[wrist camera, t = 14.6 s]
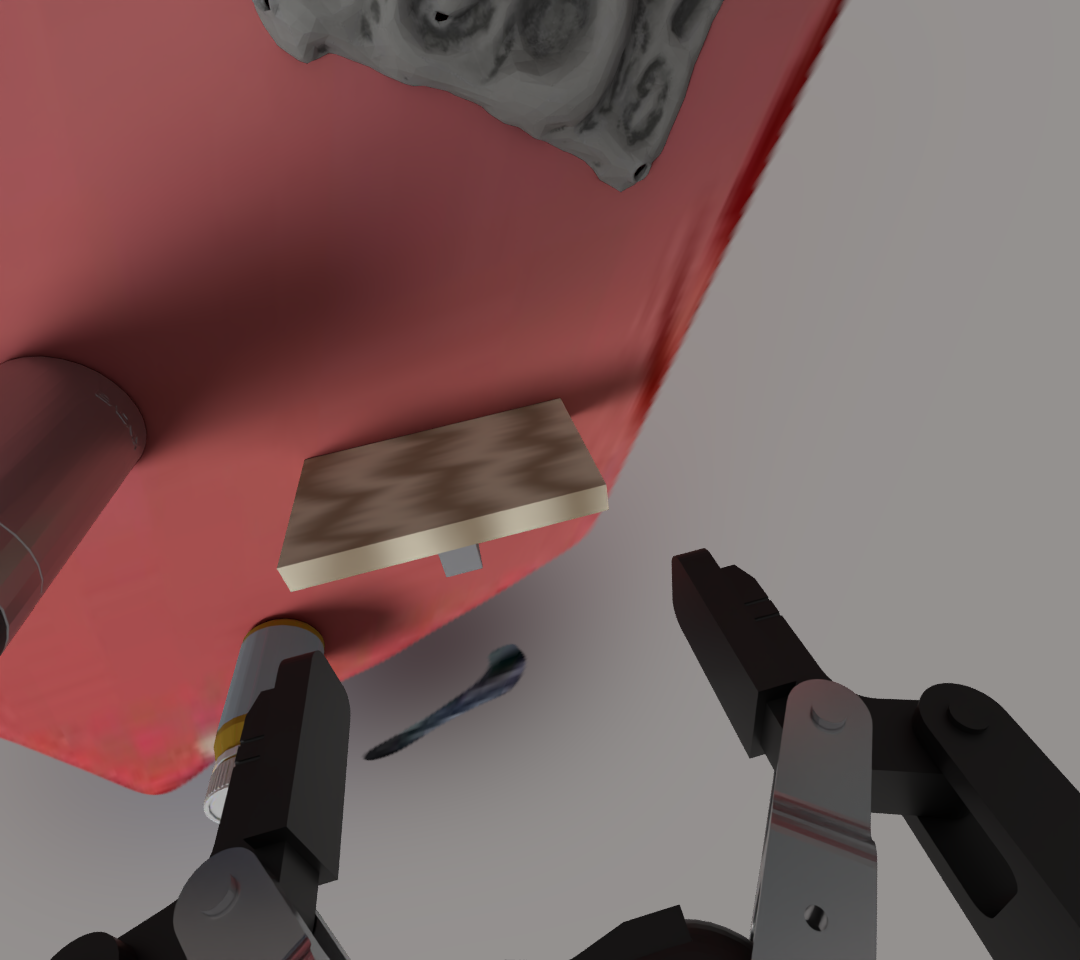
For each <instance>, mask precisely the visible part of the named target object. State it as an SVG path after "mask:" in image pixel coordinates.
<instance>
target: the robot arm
mask: <svg viewBox="0 0 1080 960" xmlns="http://www.w3.org/2000/svg"><path fill="white" fill-rule="evenodd" d="M145 445H146V428H145V424H144V420H143V418H142V416H141V414H140V412H139V410H138V408H137V406H136V405H135V404H134V402H133V401H132V400H131V399H130V398H129V396H128V395H127V394H126V393H125V392H124V391H123V390H122V389H120V388H119V387H118V386H117V385H116V384H115V383H114V382H112V381H111V380H109V379H107V378H106V377H104V376H103V375H101V374H100V373H98V372H96V371H94V370H92V369H89V368H87V367H85V366H83V365H80V364H77V363H74V362H70V361H67V360H63V359H58V358H50V357H43V356H41V357H22V358H18V359H14V360H9V361H7V362H5V363H3V364H1V365H0V655H1V654H2V653H3V651H4V650H5V649H6V647H7V646H8V644H9V643H10V641H11V640H12V639H13V637H14V636H15V634H16V633H17V632H18V630H19V629H20V627H21V626H22V624H23V623H24V622H25V620H26V619H27V617H28V616H29V615H30V613H31V612H32V610H33V609H34V607H35V605H36V604H37V603H38V601H39V600H40V598H41V597H42V596H43V594H44V593H45V591H46V590H47V589H48V587H49V586H50V584H51V583H52V581H53V580H54V579H55V577H56V576H57V574H58V573H59V572H60V570H61V569H62V567H63V566H64V564H65V563H66V562H67V560H68V559H69V557H70V556H71V555H72V553H73V552H74V550H75V549H76V547H77V546H78V545H79V543H80V542H81V540H82V539H83V538H84V536H85V535H86V533H87V532H88V531H89V529H90V528H91V526H92V525H93V523H94V522H95V521H96V519H97V518H98V516H99V515H100V514H101V512H102V511H103V509H104V508H105V506H106V505H107V504H108V502H109V501H110V499H111V498H112V497H113V495H114V494H115V492H116V491H117V490H118V488H119V487H120V485H121V484H122V482H123V481H124V479H125V478H126V476H127V475H128V474H129V472H130V471H131V469H132V468H133V467H134V465H135V464H136V462H137V461H138V459H139V458H140V457H141V455H142V453H143V451H144V448H145ZM672 590H673V591H672V592H673V593H672V595H673V606H674V611H675V614H676V617H677V620H678V623H679V625H680V627H681V629H682V631H683V633H684V634H685V637H686V639H687V640H688V642H689V644H690V646H691V648H692V650H693V652H694V654H695V656H696V657H697V659H698V661H699V663H700V665H701V667H702V669H703V671H704V673H705V675H706V676H707V678H708V680H709V682H710V684H711V686H712V688H713V690H714V692H715V693H716V695H717V697H718V699H719V701H720V703H721V705H722V707H723V709H724V711H725V712H726V714H727V716H728V718H729V720H730V722H731V724H732V726H733V728H734V730H735V731H736V733H737V735H738V737H739V739H740V741H741V743H742V745H743V746H744V749H745V750H746V752H747V754H748V756H749V758H753V757H756V756H760V755H763V754H766V756H767V758H768V760H769V762H770V763H771V765H772V767H773V769H774V776H773V784H772V790H771V797H770V804H769V811H768V818H767V824H766V831H765V838H764V845H763V852H762V859H761V866H760V872H759V879H758V884H757V892H756V897H755V903H754V910H753V917H752V924H751V931H750V937H749V939H747V938H746V937H744V936H742V935H740V934H739V933H736V932H734V931H732V930H730V929H728V928H726V927H723V926H720V925H717V924H714V923H711V922H705V921H700V920H690V919H684V916H683V913H682V910H681V907H680V905H677V906H673V907H670V908H667V909H664V910H661V911H657V912H654V913H651V914H648V915H645V916H642V917H639V918H635V919H632V920H629V921H626V922H623V923H622V924H620V925H619V926H618V927H616V928H615V929H613V930H612V931H611V932H609V933H608V934H606V935H605V936H604V937H602V938H601V939H599V940H598V941H597V942H595V943H594V944H592V945H591V946H590V947H588V948H587V949H585V950H584V951H583V952H581V953H580V954H578V955H577V956H576V957H574V958H573V959H571V960H876V934H877V933H876V932H877V851H876V846H875V842H874V841H873V840H872V838H871V829H870V828H871V827H870V826H871V823H870V822H871V812H872V813H885V814H886V813H887V814H898V815H902V816H903V817H904V819H905V820H906V822H907V824H908V825H909V827H910V828H911V830H912V831H913V833H914V835H915V836H916V838H917V839H918V841H919V843H920V844H921V846H922V847H923V849H924V850H925V852H926V853H927V855H928V857H929V858H930V860H931V862H932V863H933V865H934V866H935V868H936V869H937V871H938V873H939V874H940V876H941V877H942V879H943V881H944V882H945V884H946V885H947V887H948V888H949V890H950V891H951V893H952V895H953V896H954V898H955V900H956V901H957V902H958V904H959V906H960V907H961V909H962V910H963V912H964V914H965V915H966V917H967V918H968V920H969V921H970V923H971V925H972V926H973V928H974V930H975V931H976V933H977V934H978V936H979V937H980V939H981V940H982V942H983V944H984V945H985V947H986V949H987V950H988V952H989V953H990V955H991V956H992V958H993V960H1080V793H1079V791H1078V790H1077V789H1076V788H1075V787H1074V786H1073V785H1072V784H1071V783H1070V782H1069V780H1068V779H1067V778H1066V777H1065V776H1064V775H1063V774H1062V773H1061V772H1060V770H1059V769H1058V768H1057V767H1056V766H1055V765H1054V764H1053V763H1052V762H1051V761H1050V759H1049V758H1048V757H1047V756H1046V755H1045V754H1044V753H1043V752H1042V750H1041V749H1040V748H1039V747H1038V746H1037V745H1036V744H1035V743H1034V742H1033V740H1032V739H1030V737H1029V736H1028V735H1027V734H1026V733H1025V732H1024V731H1023V729H1022V728H1021V727H1020V726H1019V725H1018V724H1017V723H1016V722H1015V721H1014V719H1013V718H1012V717H1011V716H1010V715H1009V714H1008V713H1007V712H1006V711H1005V710H1004V709H1003V708H1002V707H1001V706H1000V705H999V704H998V703H997V702H996V701H994V700H993V699H992V698H990V697H988V696H987V695H986V694H984V693H982V692H980V691H978V690H976V689H973V688H971V687H968V686H963V685H960V684H953V683H943V684H937V685H934V686H931V687H930V688H928V689H927V690H926V691H924V693H923V694H922V696H921V698H920V700H899V699H898V700H897V699H876V698H868V697H863V696H860V695H857V694H855V693H854V692H853V691H851V690H850V689H848V688H846V687H845V686H843V685H841V684H839V683H836V682H833V681H832V680H831V679H830V678H829V677H828V676H826V674H825V673H824V672H823V671H822V670H821V668H820V667H819V666H818V664H817V663H816V661H815V660H814V659H813V657H812V656H811V655H810V653H809V652H808V650H807V649H806V648H805V646H804V645H803V644H802V642H801V641H800V640H799V638H798V637H797V636H796V634H795V633H794V632H793V630H792V629H791V627H790V626H789V625H788V623H787V622H786V620H785V619H784V618H783V617H782V616H780V614H779V611H778V610H777V608H776V607H775V605H774V604H773V603H772V601H771V600H770V601H769V599H768V596H767V595H766V593H765V592H764V590H763V589H762V588H761V586H760V585H759V584H758V582H757V581H756V580H755V578H753V577H752V576H750V575H749V574H747V573H746V572H744V571H743V570H741V569H740V568H738V567H737V566H735V565H731V566H727V567H724V568H720V567H719V566H718V564H717V563H716V561H715V560H714V558H713V557H712V555H711V554H710V552H709V551H708V550H706V549H705V548H703V549H699V550H695V551H692V552H688V553H684V554H680V555H677V556H673V558H672ZM349 728H350V705H349V700H348V696H347V693H346V691H345V689H344V687H343V685H342V684H341V682H340V680H339V679H338V677H337V676H336V674H335V672H334V671H333V669H332V668H331V666H330V664H329V663H328V661H327V659H326V658H325V656H324V655H323V653H322V652H321V651H319V650H317V651H313V652H309V653H305V654H302V655H298V656H294V657H290V658H287V659H283V660H282V661H281V663H280V665H279V668H278V672H277V677H276V682H275V686H274V688H272V689H268V690H265V691H261V692H260V694H259V696H258V697H257V699H256V700H255V702H254V704H253V705H252V707H251V709H250V710H249V712H248V713H247V715H246V717H245V721H244V726H243V730H242V734H241V738H240V746H238V750H237V754H236V758H235V767H233V771H232V775H231V779H230V783H229V787H228V791H227V795H226V799H225V803H224V807H223V811H222V816H221V820H220V824H219V828H218V832H217V836H216V840H215V844H214V847H213V851H212V853H211V855H210V858H209V859H208V860H207V861H205V862H204V863H203V864H202V865H201V866H200V867H199V868H198V869H197V870H196V871H195V872H194V873H193V874H192V876H191V877H190V878H189V879H188V881H187V883H186V884H185V886H184V887H183V889H182V891H181V893H180V895H179V898H178V899H177V900H176V901H174V902H173V903H172V904H170V905H169V906H167V907H166V908H164V909H163V910H161V911H160V912H158V913H157V914H155V915H153V916H152V917H150V918H149V919H147V920H146V921H144V922H142V923H141V924H139V925H138V926H136V927H135V928H133V929H132V930H130V931H128V932H127V933H125V934H124V935H122V936H120V937H119V938H115V937H113V936H111V935H109V934H107V933H104V932H93V933H89V934H86V935H84V936H82V937H79V938H77V939H76V940H74V941H73V942H71V943H69V944H68V945H66V946H65V947H64V948H62V949H61V950H60V951H59V952H58V953H57V954H56V955H55V956H53V957H52V959H51V960H350V958H349V956H348V955H347V954H346V952H345V951H344V950H343V948H342V946H341V945H340V944H339V942H338V940H337V939H336V937H335V936H334V934H333V933H332V932H331V930H330V929H329V927H328V926H327V924H326V923H325V921H324V920H323V918H322V917H321V915H320V914H319V912H318V911H317V910H316V901H317V891H318V885H322V884H325V883H328V882H331V881H334V880H338V870H339V858H340V844H341V832H342V819H343V805H344V793H345V780H346V767H347V754H348V739H349Z"/></svg>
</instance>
